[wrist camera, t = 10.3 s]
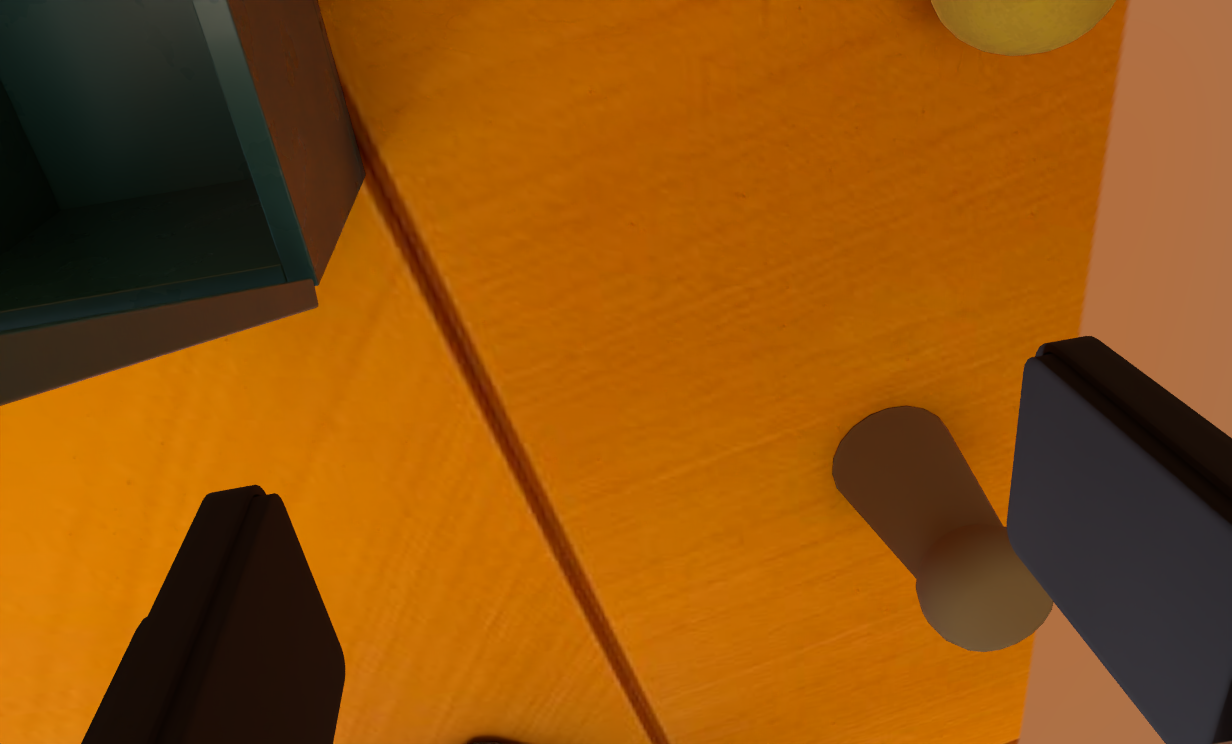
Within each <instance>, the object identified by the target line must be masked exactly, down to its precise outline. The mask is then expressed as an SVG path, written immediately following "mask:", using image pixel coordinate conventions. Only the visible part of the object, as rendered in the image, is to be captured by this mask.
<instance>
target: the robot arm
mask: <svg viewBox="0 0 1232 744" xmlns="http://www.w3.org/2000/svg"><path fill="white" fill-rule="evenodd" d="M1007 533H1008V538H1009V541H1010V544H1011V546H1012V548H1013V550H1014V552H1015V553H1016V555H1017V556H1018V557H1019V558H1020V560H1021V561H1022V562H1023V564H1024V565H1025V566H1026V567H1027V569H1028V570H1029V571H1030V572H1031V574H1032V575H1033V576H1034V577H1035V579H1036V580H1037V581H1038V583H1039V584H1040V585H1041V586H1042V588H1043V589H1044V590H1045V591H1046V593H1047V594H1048V595H1049V596H1050V598H1051V599H1052V600H1053V602H1054V603H1055V604H1056V605H1057V607H1058V608H1059V609H1060V610H1061V612H1062V613H1063V614H1064V615H1065V617H1066V618H1067V619H1068V620H1069V622H1070V623H1071V624H1072V625H1073V627H1074V628H1075V629H1076V631H1077V632H1078V633H1079V634H1080V636H1081V637H1082V638H1083V640H1084V641H1085V642H1086V643H1087V645H1088V646H1089V647H1090V648H1091V650H1092V651H1093V652H1094V653H1095V655H1096V656H1097V657H1098V659H1099V660H1100V661H1101V662H1102V664H1103V665H1104V666H1105V667H1106V669H1107V670H1108V671H1109V673H1110V674H1111V675H1112V676H1113V677H1114V679H1115V680H1116V681H1117V683H1118V684H1119V685H1120V686H1121V687H1122V689H1123V690H1124V692H1125V693H1126V694H1127V695H1128V697H1129V698H1130V699H1131V700H1132V702H1133V703H1134V704H1135V705H1136V707H1137V708H1138V709H1139V711H1140V712H1141V713H1142V714H1143V715H1144V717H1145V718H1146V719H1147V721H1148V722H1149V723H1150V724H1151V726H1152V727H1153V728H1154V730H1155V731H1156V732H1157V733H1158V734H1159V736H1160V737H1161V738H1162V740H1163V741H1164V742H1165V743H1166V744H1232V438H1231V437H1229V436H1228V435H1226V434H1225V433H1224V432H1222V431H1221V430H1220V429H1218V428H1217V427H1216V426H1214V425H1213V424H1212V423H1210V422H1209V421H1208V420H1206V419H1205V418H1203V417H1202V416H1201V415H1200V414H1198V413H1197V412H1195V411H1194V410H1193V409H1191V408H1190V407H1189V406H1187V405H1186V404H1185V403H1183V402H1182V401H1181V400H1179V399H1178V398H1177V397H1175V396H1174V395H1173V394H1171V393H1170V392H1168V391H1167V390H1166V389H1164V388H1163V387H1162V386H1160V385H1159V384H1158V383H1156V382H1155V381H1154V380H1152V379H1151V378H1150V377H1148V376H1147V375H1145V374H1144V373H1143V372H1141V371H1140V370H1139V369H1137V368H1136V367H1134V366H1133V365H1132V364H1131V363H1129V362H1128V361H1127V360H1125V359H1124V358H1123V357H1121V356H1120V355H1118V354H1117V353H1116V352H1114V351H1113V350H1112V349H1110V348H1109V347H1108V346H1106V345H1105V344H1104V343H1102V342H1101V341H1100V340H1098V339H1096V338H1094V337H1092V336H1084V337H1078V338H1073V339H1067V340H1062V341H1056V342H1050V343H1045V344H1043V345H1042V346H1040V347H1039V349H1038V351H1037V352H1036V356H1035V357H1031V358H1030V359H1028V360H1027V362H1026V363H1025V367H1024V372H1023V381H1022V390H1021V399H1020V408H1019V417H1018V426H1017V435H1016V444H1015V453H1014V462H1013V471H1012V480H1011V489H1010V498H1009V507H1008V516H1007ZM344 681H345V661H344V655H343V651H342V648H341V646H340V643H339V641H338V638H337V636H336V633H335V631H334V628H333V626H332V623H331V621H330V618H329V616H328V613H327V611H326V608H325V606H324V603H323V601H322V598H321V596H320V593H319V591H318V588H317V586H316V583H315V581H314V578H313V576H312V573H311V571H310V568H309V566H308V563H307V561H306V558H305V556H304V553H303V551H302V548H301V546H300V543H299V541H298V538H297V536H296V533H295V531H294V528H293V526H292V523H291V521H290V518H289V516H288V513H287V511H286V508H285V506H284V503H283V501H282V499H281V498H280V496H279V495H278V494H275V493H274V494H269V495H266V493H265V492H264V490H263V489H262V488H261V487H260V486H258V485H252V486H246V487H240V488H235V489H229V490H224V491H218V492H212V493H209V494H207V495H206V496H205V498H204V499H203V501H202V503H201V505H200V507H199V509H198V512H197V514H196V516H195V518H194V520H193V522H192V524H191V526H190V528H189V530H188V533H187V535H186V537H185V539H184V541H183V543H182V545H181V547H180V549H179V552H178V554H177V556H176V558H175V560H174V562H173V564H172V566H171V568H170V570H169V573H168V575H167V577H166V579H165V581H164V583H163V585H162V587H161V589H160V591H159V594H158V596H157V598H156V600H155V602H154V604H153V606H152V608H151V610H150V612H149V615H148V617H146V618H144V619H143V620H142V622H141V623H140V625H139V626H138V628H137V629H136V631H135V633H134V635H133V637H132V639H131V642H130V644H129V646H128V648H127V650H126V652H125V654H124V656H123V658H122V660H121V662H120V664H119V666H118V668H117V671H116V673H115V675H114V677H113V679H112V681H111V683H110V685H109V687H108V689H107V691H106V693H105V695H104V698H103V700H102V702H101V704H100V706H99V708H98V710H97V712H96V714H95V716H94V718H93V720H92V722H91V724H90V727H89V729H88V731H87V733H86V735H85V737H84V739H83V741H82V743H81V744H333V740H334V735H335V729H336V724H337V719H338V713H339V708H340V703H341V697H342V692H343V687H344Z"/></svg>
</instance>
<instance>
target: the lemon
mask: <svg viewBox="0 0 1232 744" xmlns="http://www.w3.org/2000/svg"><path fill="white" fill-rule="evenodd" d="M1115 1H1116V0H931V3H932V6H933V8H934V10H935V11H936V13H937V15H938V17H939V19H940V21H941V22H942V24H943V25H944V26H945V27H946V28H947V29H948V30H949V31H950V32H951V33H953V34H954V35H955V36H956V37H957V38H958V39H959V40H961V41H963V42H965V43H967V44H969V45H971V46H973V47H975V48H977V49H979V50H981V51H984V52H989V53H995V54H1001V55H1008V56H1020V55H1028V54H1036V53H1043V52H1047V51H1051V50H1053V49H1056V48H1058V47H1061V46H1063V45H1066V44H1069V43H1071V42H1073V41H1075V40H1076V39H1078V38H1079V37H1081V36H1082V35H1084V34H1085V33H1087V32H1088V31H1090V30H1091V29H1092V28H1093V27H1094V26H1095V25H1096V24H1097V23H1098V22H1099V21H1100V20H1101V19H1102V18H1103V17H1104V16H1105V15H1106V14H1107V13H1108V12H1109V10H1110V9H1111V7H1112V6H1113V4H1114V3H1115Z"/></svg>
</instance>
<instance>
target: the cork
mask: <svg viewBox="0 0 1232 744" xmlns="http://www.w3.org/2000/svg"><path fill="white" fill-rule="evenodd" d="M833 477H834V480H835V484H836V487H837V489H838V490H839V491H840V492H841V493H842V494H843V496H844V497H845V498H846V499H847V500H848V501H849V502H850V504H851V505H852V506H853V507H854V508H855V509H856V510H857V512H858V513H859V514H860V515H861V516H862V517H863V518H864V520H865V521H866V522H867V523H868V524H869V525H870V526H871V528H872V529H873V530H874V531H875V532H876V533H877V534H878V536H879V537H880V538H881V539H882V540H883V541H884V542H885V544H886V545H887V546H888V547H889V548H890V549H891V550H892V551H893V553H894V554H895V555H896V556H897V557H898V558H899V559H900V561H901V562H902V563H903V564H904V565H905V566H906V567H907V569H908V570H909V571H910V572H911V573H912V574H913V575H914V577H915V578H916V579H917V582H916V591H917V595H918V599H919V602H920V606H921V609H922V612H923V614H924V616H925V617H926V619H927V621H928V622H929V624H930V625H931V626H932V627H933V628H934V629H935V630H936V631H937V632H938V633H939V634H940V635H941V636H942V637H943V638H944V639H945V640H946V641H949V642H951V643H953V644H955V645H958V646H960V647H962V648H965V649H967V650H970V651H980V652H987V651H994V650H1001V649H1003V648H1006V647H1009V646H1011V645H1014V644H1017V643H1018V642H1020V641H1021V640H1023V639H1025V638H1026V637H1028V636H1029V635H1031V634H1032V633H1033V632H1034V631H1035V630H1036V629H1038V628H1039V627H1040V626H1041V625H1042V624H1043V623H1044V621H1045V620H1046V618H1047V616H1048V614H1049V613H1050V612H1051V610H1052V606H1053V600H1052V599H1051V598H1050V596H1049V595H1048V594H1047V593H1046V591H1045V590H1044V589H1043V588H1042V586H1041V585H1040V584H1039V583H1038V581H1037V580H1036V579H1035V577H1034V576H1033V575H1032V574H1031V572H1030V571H1029V570H1028V569H1027V567H1026V566H1025V565H1024V564H1023V562H1022V561H1021V560H1020V558H1019V557H1018V556H1017V555H1016V553H1015V552H1014V550H1013V548H1012V546H1011V544H1010V541H1009V538H1008V533H1007V527H1003V525H1002V523H1001V522H1000V520H999V518H998V516H997V515H996V513H995V511H994V509H993V508H992V506H991V504H990V502H989V501H988V499H987V497H986V495H985V494H984V492H983V490H982V488H981V487H980V485H979V483H978V481H977V480H976V478H975V476H974V474H973V473H972V471H971V469H970V467H969V466H968V464H967V462H966V460H965V459H964V457H963V455H962V453H961V452H960V450H959V448H958V446H957V445H956V443H955V441H954V439H953V438H952V436H951V434H950V432H949V431H948V429H947V428H946V426H945V425H944V424H943V422H942V421H941V420H940V418H939V417H938V416H936V415H934V414H932V413H931V412H929V411H927V410H925V409H921V408H915V407H910V406H903V407H895V408H888V409H885V410H883V411H880V412H878V413H875V414H873V415H870V416H868V417H867V418H866V419H864V420H863V421H861V422H860V423H859V424H857V425H856V426H854V427H853V428H852V429H851V430H850V432H849V433H848V434H847V435H846V436H845V438H844V439H843V440H842V441H841V443H840V445H839V447H838V449H837V452H836V454H835V456H834V460H833Z"/></svg>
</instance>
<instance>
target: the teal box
mask: <svg viewBox="0 0 1232 744" xmlns="http://www.w3.org/2000/svg"><path fill="white" fill-rule="evenodd" d="M364 178H365V171H364V168H363V164H362V161H361V157H360V153H359V150H358V146H357V142H356V139H355V135H354V132H353V128H352V124H351V121H350V117H349V113H348V110H347V106H346V103H345V99H344V95H343V92H342V88H341V85H340V81H339V77H338V74H337V70H336V66H335V63H334V59H333V56H332V52H331V48H330V45H329V41H328V38H327V34H326V30H325V27H324V23H323V19H322V16H321V12H320V9H319V5H318V1H317V0H0V331H3V330H9V329H15V328H21V327H27V326H33V325H39V324H45V323H50V322H56V321H62V320H68V319H74V318H80V317H86V316H91V315H97V314H103V313H109V312H115V311H121V310H127V309H133V308H138V307H144V306H150V305H156V304H162V303H168V302H174V301H180V300H185V299H191V298H197V297H203V296H209V295H215V294H221V293H227V292H232V291H238V290H244V289H250V288H256V287H262V286H268V285H274V284H279V283H285V282H291V281H297V280H303V279H309V278H310V279H312V280H313V283H314V286H318V285H319V283H320V281H321V278H322V276H323V274H324V271H325V269H326V267H327V264H328V262H329V260H330V257H331V255H332V253H333V250H334V248H335V246H336V243H337V241H338V239H339V236H340V234H341V232H342V229H343V227H344V225H345V222H346V220H347V218H348V215H349V213H350V211H351V208H352V206H353V204H354V201H355V199H356V197H357V194H358V192H359V190H360V187H361V185H362V183H363V180H364Z"/></svg>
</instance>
